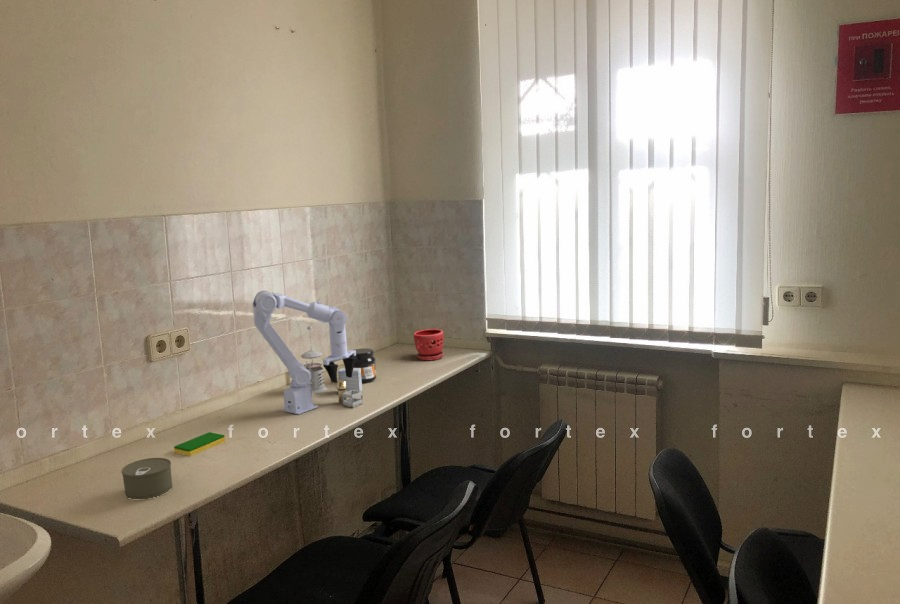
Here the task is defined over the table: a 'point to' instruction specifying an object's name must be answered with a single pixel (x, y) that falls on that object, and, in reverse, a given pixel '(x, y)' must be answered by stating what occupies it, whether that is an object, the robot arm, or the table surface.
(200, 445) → the dish sponge
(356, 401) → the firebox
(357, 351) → the supplement container
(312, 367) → the french press
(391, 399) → the table surface
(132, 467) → the can
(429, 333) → the plant pot
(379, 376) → the table surface
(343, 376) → the medicine box
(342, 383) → the gold domed cylinder
